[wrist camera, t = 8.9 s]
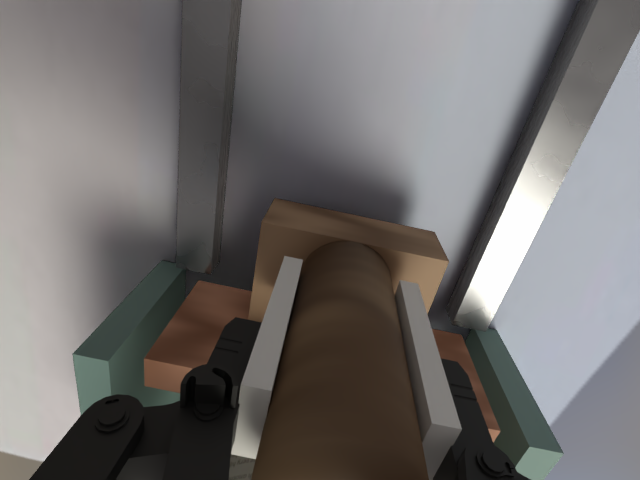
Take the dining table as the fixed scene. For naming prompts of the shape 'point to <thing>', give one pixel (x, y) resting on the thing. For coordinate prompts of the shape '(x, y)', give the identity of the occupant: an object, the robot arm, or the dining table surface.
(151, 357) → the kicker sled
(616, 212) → the dining table surface
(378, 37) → the dining table surface
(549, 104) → the track
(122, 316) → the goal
